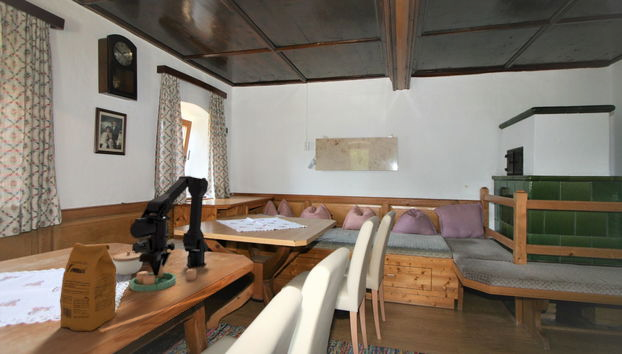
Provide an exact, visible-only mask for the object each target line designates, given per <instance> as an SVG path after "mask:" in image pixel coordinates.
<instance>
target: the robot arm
mask: <svg viewBox="0 0 622 354" xmlns="http://www.w3.org/2000/svg"><path fill="white" fill-rule="evenodd" d="M208 187H209V182H208V180H207V178H205V177H195V176H191V175H181V176H179V177H178V179H177V180H176V181H175V182H174V183H173V184H172V185H171V186H170V187H169V188H168V189H167V190H166V191H165V192H164V193H163V194H161V195H158V196H156V197H154V198H153V199H151V200H149V201H148V202H147V204H146V207H145V209H144V211H143V213H142V214H141V216H140V218H135V219H134V222H133V223H132V224H131V226H130V228H129V233H130V235H131V236H132V238H133V239H138V238H141V237H145V236H149V235H150V236H149V237H148V238H147V240H146V241H144V242H141V243H140V242H139V241H136V242H134V243H133V244H132V246H131V252H135V253H136V254H137V253H139V252H141V251H144V250H146V252H144V253H142V254H141V255H140V256H139V262H149V263H150V264H149V265H150V267H151V270H152V273H154V275H155V276H157V275H158V273H159V270H160V268H161V265H163V269H164V268H165V266H166V264H167V261H168V260H169V258H170V255H171V253H172V252H173V251H174V250H175V247H176V245H175V243H173V242H167V238H168V235H167V221H171V217H170V216H169V215H168V214H170V212H171V210H172V208H174V207H173V206H174V202H175V201H176V200H177V199H178V198H179V197H180V196H181V194H183V193H184V191H185V190H187V192H188V193H189V195H190V207H189V208H190V210H189V224H188V229H187V231H186V232H184V233H183V238H182V244H183V248H184V251H185V252H187V253H188V255H187V261H186V266H189V267H191V268H198V267H201V266H205V265H207V263H206V262H205V260H206V259H205V254H206V253H207V252H208V249H209V245H208V244H207V242H206V241H205V234H204V232H203V231H202V228H201V227H202V215H203V200H204V197H205V195H206V193H207V192H208V189H209V188H208ZM166 249H168V250H170V251H168V250H167V251H166ZM171 251H172V252H171Z"/></svg>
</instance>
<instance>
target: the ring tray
mask: <svg viewBox="0 0 622 354" xmlns="http://www.w3.org/2000/svg"><path fill="white" fill-rule="evenodd" d="M148 275H153V272H148ZM176 282H177V274H175V273H172V272H164V271H163V277H161V278H157V277H155V284H153V285H137V276H136V277H133V278H131V279H130V282H129V289H130V290H132V291H134V292H141V293H142V292H144V293H146V292H155V291H159V290H164V289H167V288H170V287H171V286H173V285H175V284H176Z"/></svg>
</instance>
